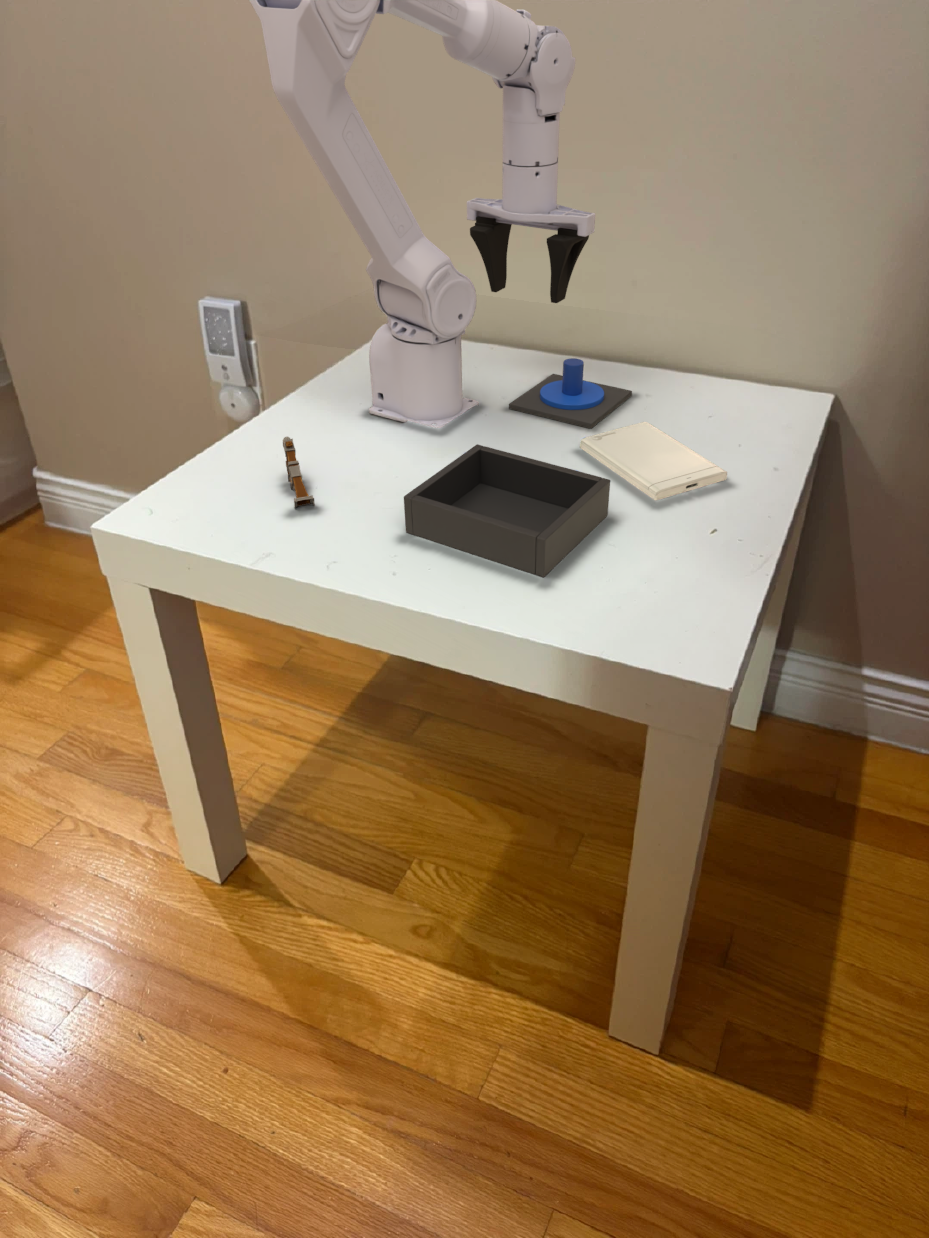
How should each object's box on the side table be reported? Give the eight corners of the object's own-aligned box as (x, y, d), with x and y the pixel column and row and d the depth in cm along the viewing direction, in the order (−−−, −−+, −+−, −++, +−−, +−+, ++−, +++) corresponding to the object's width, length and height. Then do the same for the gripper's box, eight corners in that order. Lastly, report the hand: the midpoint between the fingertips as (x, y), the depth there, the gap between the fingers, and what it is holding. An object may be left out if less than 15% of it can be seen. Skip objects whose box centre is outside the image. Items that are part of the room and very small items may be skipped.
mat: (508, 409, 105) (508, 403, 104) (552, 378, 111) (552, 373, 111) (591, 429, 100) (591, 423, 100) (631, 395, 107) (632, 390, 106)
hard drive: (580, 438, 95) (656, 489, 86) (647, 420, 98) (728, 468, 89) (579, 453, 96) (654, 506, 87) (646, 435, 99) (726, 484, 90)
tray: (405, 538, 83) (403, 496, 81) (477, 483, 91) (476, 443, 88) (543, 583, 77) (545, 540, 75) (607, 521, 85) (610, 479, 82)
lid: (530, 404, 104) (531, 369, 102) (551, 381, 109) (553, 346, 107) (593, 414, 102) (595, 378, 99) (611, 389, 107) (614, 354, 104)
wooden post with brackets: (297, 461, 93) (295, 430, 89) (315, 526, 89) (314, 496, 86) (278, 464, 93) (276, 432, 89) (296, 530, 89) (294, 500, 85)
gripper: (611, 161, 98) (602, 295, 106) (490, 148, 104) (490, 276, 112) (579, 174, 93) (572, 313, 101) (454, 160, 100) (457, 292, 108)
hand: (527, 295), depth 106 cm, fingers open, 7 cm apart
